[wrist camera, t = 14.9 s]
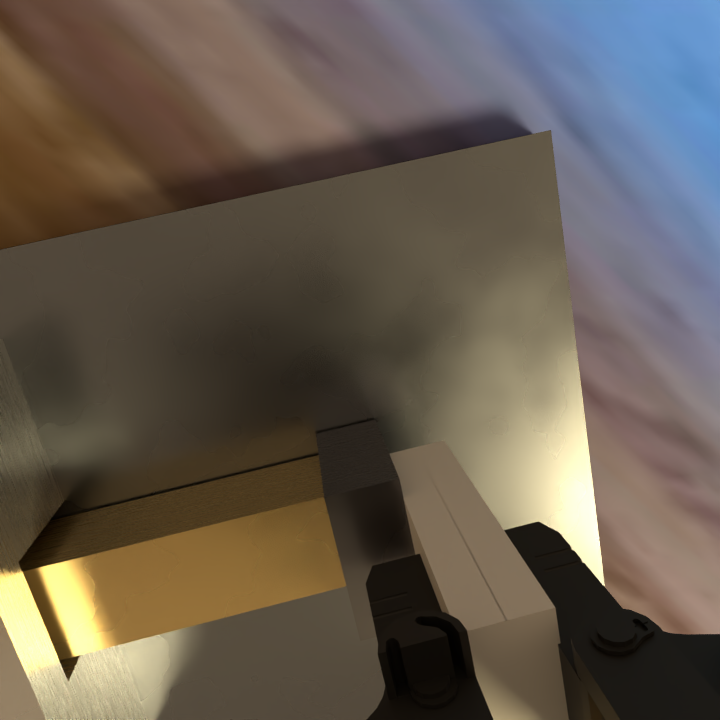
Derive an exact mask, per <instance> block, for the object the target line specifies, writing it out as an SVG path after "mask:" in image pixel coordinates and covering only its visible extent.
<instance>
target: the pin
mask: <svg viewBox="0 0 720 720" xmlns="http://www.w3.org/2000/svg"><path fill="white" fill-rule="evenodd" d="M316 439H317V446H318V454H319V455H317V456H313V457H309V458H305V459H301V460H297V461H292V462H288V463H284V464H280V465H276V466H272V467H268V468H264V469H260V470H256V471H252V472H247V473H243V474H239V475H235V476H231V477H227V478H223V479H219V480H215V481H211V482H206V483H202V484H198V485H194V486H190V487H186V488H182V489H178V490H174V491H170V492H166V493H161V494H157V495H153V496H149V497H145V498H141V499H137V500H133V501H129V502H125V503H121V504H116V505H112V506H108V507H104V508H100V509H96V510H92V511H88V512H84V513H80V514H76V515H71V516H67V517H63V518H59V519H55V520H51V521H49V522H48V523H47V525H46V526H45V527H44V529H43V530H42V531H41V533H40V534H39V535H38V537H37V538H36V539H35V541H34V542H33V543H32V545H31V546H30V547H29V549H28V550H27V551H26V553H25V554H24V555H23V557H22V558H21V559H20V561H19V565H20V567H21V570H22V572H23V574H24V577H25V579H26V582H27V584H28V586H29V589H30V591H31V594H32V596H33V598H34V601H35V603H36V606H37V608H38V611H39V613H40V615H41V618H42V620H43V623H44V625H45V627H46V630H47V632H48V635H49V637H50V639H51V642H52V644H53V647H54V649H55V651H56V654H57V656H58V659H59V660H63V659H66V658H70V657H74V656H78V655H82V654H86V653H90V652H94V651H97V650H101V649H105V648H109V647H113V646H117V645H121V644H125V643H128V642H132V641H136V640H140V639H144V638H148V637H152V636H156V635H159V634H163V633H167V632H171V631H175V630H179V629H183V628H187V627H190V626H194V625H198V624H202V623H206V622H210V621H214V620H218V619H221V618H225V617H229V616H233V615H237V614H241V613H245V612H249V611H252V610H256V609H260V608H264V607H268V606H272V605H276V604H280V603H283V602H287V601H291V600H295V599H299V598H303V597H307V596H311V595H314V594H318V593H322V592H326V591H330V590H334V589H338V588H342V587H345V586H347V590H348V594H349V598H350V602H351V606H352V610H353V614H354V618H355V622H356V626H357V630H358V634H359V638H360V641H362V640H366V639H370V638H374V637H377V636H376V632H375V627H374V622H373V617H372V612H371V608H370V603H369V598H368V593H367V588H366V581H367V578H368V576H369V573H370V570H371V568H372V566H373V565H377V564H381V563H385V562H389V561H393V560H397V559H401V558H404V557H408V556H412V555H415V550H414V546H413V541H412V536H411V531H410V527H409V522H408V517H407V513H406V508H405V503H404V497H403V493H402V488H401V483H400V479H399V476H398V474H397V471H396V469H395V466H394V464H393V462H392V459H391V457H390V454H389V452H388V450H387V447H386V445H385V442H384V440H383V437H382V435H381V433H380V430H379V428H378V425H377V423H376V421H375V420H371V421H367V422H363V423H359V424H355V425H351V426H346V427H342V428H338V429H334V430H330V431H326V432H322V433H318V434H316Z"/></svg>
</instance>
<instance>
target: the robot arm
mask: <svg viewBox="0 0 720 720" xmlns="http://www.w3.org/2000/svg"><path fill="white" fill-rule="evenodd" d="M390 457H391V459H392V462H393V464H394V466H395V469H396V471H397V474H398V476H399V479H400V483H401V488H402V493H403V497H404V503H405V508H406V513H407V517H408V522H409V527H410V531H411V536H412V541H413V546H414V550H415V555H412V556H408V557H404V558H401V559H397V560H393V561H389V562H385V563H381V564H377V565H373V566H372V568H371V570H370V573H369V576H368V578H367V581H366V588H367V593H368V598H369V603H370V608H371V612H372V617H373V622H374V627H375V632H376V636H377V641H378V658H379V662H380V666H381V670H382V674H383V678H384V683H385V690H384V694H383V698H382V699H381V701H380V703H379V705H378V707H377V708H376V710H375V711H374V712H373V713H372V714H371V715H370V716H369V717H368V719H366V720H720V634H697V635H686V634H672V633H667V632H663V631H662V629H661V628H660V627H659V626H658V625H656V624H655V623H654V622H653V621H651V620H650V619H649V618H648V617H646V616H644V615H641V614H639V613H636V612H634V611H632V610H627V609H622V607H621V606H620V605H619V604H618V603H617V601H616V600H615V599H614V598H613V597H612V595H611V594H610V593H609V592H608V591H607V589H606V588H605V587H604V586H603V585H602V583H601V582H600V581H599V580H598V578H597V577H596V576H595V575H594V574H593V572H592V571H591V570H590V569H589V568H588V566H587V565H586V564H585V563H583V562H582V559H581V558H580V557H579V556H578V554H577V553H576V552H575V551H574V550H572V548H571V546H570V545H569V544H568V542H567V541H566V540H565V539H564V538H563V536H562V535H561V534H560V533H559V532H558V531H556V530H554V529H552V528H550V527H548V526H546V525H544V524H542V523H541V522H539V521H538V522H534V523H530V524H526V525H522V526H518V527H514V528H510V529H506V530H503V528H502V527H501V525H500V524H499V522H498V521H497V519H496V518H495V516H494V515H493V513H492V512H491V510H490V509H489V507H488V506H487V504H486V503H485V501H484V500H483V498H482V497H481V495H480V494H479V492H478V491H477V489H476V488H475V486H474V485H473V483H472V482H471V480H470V479H469V477H468V476H467V474H466V473H465V471H464V470H463V468H462V467H461V465H460V464H459V462H458V461H457V459H456V458H455V456H454V455H453V453H452V452H451V450H450V449H449V447H448V446H447V444H446V443H445V441H444V440H443V441H439V442H435V443H431V444H427V445H423V446H419V447H415V448H410V449H406V450H402V451H398V452H394V453H390Z"/></svg>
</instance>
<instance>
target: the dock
mask: <svg viewBox="0 0 720 720" xmlns="http://www.w3.org/2000/svg"><path fill="white" fill-rule="evenodd" d="M371 420H375V421H376V423H377V425H378V428H379V430H380V433H381V435H382V437H383V440H384V442H385V445H386V447H387V450H388V452H389V454H390V453H394V452H398V451H402V450H406V449H410V448H415V447H419V446H423V445H427V444H431V443H435V442H439V441H443V440H444V441H445V443H446V444H447V446H448V447H449V449H450V450H451V452H452V453H453V455H454V456H455V458H456V459H457V461H458V462H459V464H460V465H461V467H462V468H463V470H464V471H465V473H466V474H467V476H468V477H469V479H470V480H471V482H472V483H473V485H474V486H475V488H476V489H477V491H478V492H479V494H480V495H481V497H482V498H483V500H484V501H485V503H486V504H487V506H488V507H489V509H490V510H491V512H492V513H493V515H494V516H495V518H496V519H497V521H498V522H499V524H500V525H501V527H502V528H503V530H506V529H510V528H514V527H518V526H522V525H526V524H530V523H534V522H538V521H539V522H541V523H542V524H544V525H546V526H548V527H550V528H552V529H554V530H556V531H558V532H559V533H560V534H561V535H562V536H563V538H564V539H565V540H566V541H567V542H568V544H569V545H570V546H571V548H572V550H574V551H575V552H576V553H577V554H578V556H579V557H580V558H581V559H582V562H583V563H585V564H586V565H587V566H588V568H589V569H590V570H591V571H592V572H593V574H594V575H595V576H596V577H597V578H598V580H599V581H600V582H601V583H602V585H603V586H604V587H605V585H604V576H603V568H602V559H601V551H600V543H599V534H598V526H597V517H596V509H595V500H594V492H593V483H592V475H591V466H590V458H589V449H588V441H587V432H586V424H585V416H584V407H583V399H582V390H581V382H580V373H579V365H578V356H577V348H576V339H575V331H574V322H573V314H572V306H571V297H570V289H569V280H568V272H567V263H566V255H565V246H564V238H563V229H562V221H561V212H560V204H559V195H558V187H557V179H556V170H555V162H554V153H553V145H552V136H551V130H549V131H545V132H540V133H536V134H531V135H526V136H522V137H517V138H513V139H508V140H503V141H499V142H494V143H490V144H485V145H480V146H476V147H471V148H466V149H462V150H457V151H453V152H448V153H443V154H439V155H434V156H430V157H425V158H420V159H416V160H411V161H407V162H402V163H397V164H393V165H388V166H384V167H379V168H374V169H370V170H365V171H361V172H356V173H351V174H347V175H342V176H338V177H333V178H328V179H324V180H319V181H315V182H310V183H305V184H301V185H296V186H291V187H287V188H282V189H278V190H273V191H268V192H264V193H259V194H255V195H250V196H245V197H241V198H236V199H232V200H227V201H222V202H218V203H213V204H209V205H204V206H199V207H195V208H190V209H186V210H181V211H176V212H172V213H167V214H163V215H158V216H153V217H149V218H144V219H140V220H135V221H130V222H126V223H121V224H116V225H112V226H107V227H103V228H98V229H93V230H89V231H84V232H80V233H75V234H70V235H66V236H61V237H57V238H52V239H47V240H43V241H38V242H34V243H29V244H24V245H20V246H15V247H11V248H6V249H1V250H0V720H366V719H368V717H369V716H370V715H371V714H372V713H373V712H374V711H375V710H376V708H377V707H378V705H379V703H380V701H381V699H382V698H383V694H384V690H385V683H384V678H383V674H382V670H381V666H380V662H379V658H378V641H377V637H374V638H370V639H366V640H362V641H360V638H359V634H358V630H357V626H356V622H355V618H354V614H353V610H352V606H351V602H350V598H349V594H348V590H347V586H345V587H342V588H338V589H334V590H330V591H326V592H322V593H318V594H314V595H311V596H307V597H303V598H299V599H295V600H291V601H287V602H283V603H280V604H276V605H272V606H268V607H264V608H260V609H256V610H252V611H249V612H245V613H241V614H237V615H233V616H229V617H225V618H221V619H218V620H214V621H210V622H206V623H202V624H198V625H194V626H190V627H187V628H183V629H179V630H175V631H171V632H167V633H163V634H159V635H156V636H152V637H148V638H144V639H140V640H136V641H132V642H128V643H125V644H121V645H117V646H113V647H109V648H105V649H101V650H97V651H94V652H90V653H86V654H82V655H78V656H74V657H70V658H66V659H63V660H59V659H58V656H57V654H56V651H55V649H54V647H53V644H52V642H51V639H50V637H49V635H48V632H47V630H46V627H45V625H44V623H43V620H42V618H41V615H40V613H39V611H38V608H37V606H36V603H35V601H34V598H33V596H32V594H31V591H30V589H29V586H28V584H27V582H26V579H25V577H24V574H23V572H22V570H21V567H20V565H19V561H20V559H21V558H22V557H23V555H24V554H25V553H26V551H27V550H28V549H29V547H30V546H31V545H32V543H33V542H34V541H35V539H36V538H37V537H38V535H39V534H40V533H41V531H42V530H43V529H44V527H45V526H46V525H47V523H48V522H49V521H51V520H55V519H59V518H63V517H67V516H71V515H76V514H80V513H84V512H88V511H92V510H96V509H100V508H104V507H108V506H112V505H116V504H121V503H125V502H129V501H133V500H137V499H141V498H145V497H149V496H153V495H157V494H161V493H166V492H170V491H174V490H178V489H182V488H186V487H190V486H194V485H198V484H202V483H206V482H211V481H215V480H219V479H223V478H227V477H231V476H235V475H239V474H243V473H247V472H252V471H256V470H260V469H264V468H268V467H272V466H276V465H280V464H284V463H288V462H292V461H297V460H301V459H305V458H309V457H313V456H317V455H319V454H318V446H317V439H316V434H318V433H322V432H326V431H330V430H334V429H338V428H342V427H346V426H351V425H355V424H359V423H363V422H367V421H371Z"/></svg>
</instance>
